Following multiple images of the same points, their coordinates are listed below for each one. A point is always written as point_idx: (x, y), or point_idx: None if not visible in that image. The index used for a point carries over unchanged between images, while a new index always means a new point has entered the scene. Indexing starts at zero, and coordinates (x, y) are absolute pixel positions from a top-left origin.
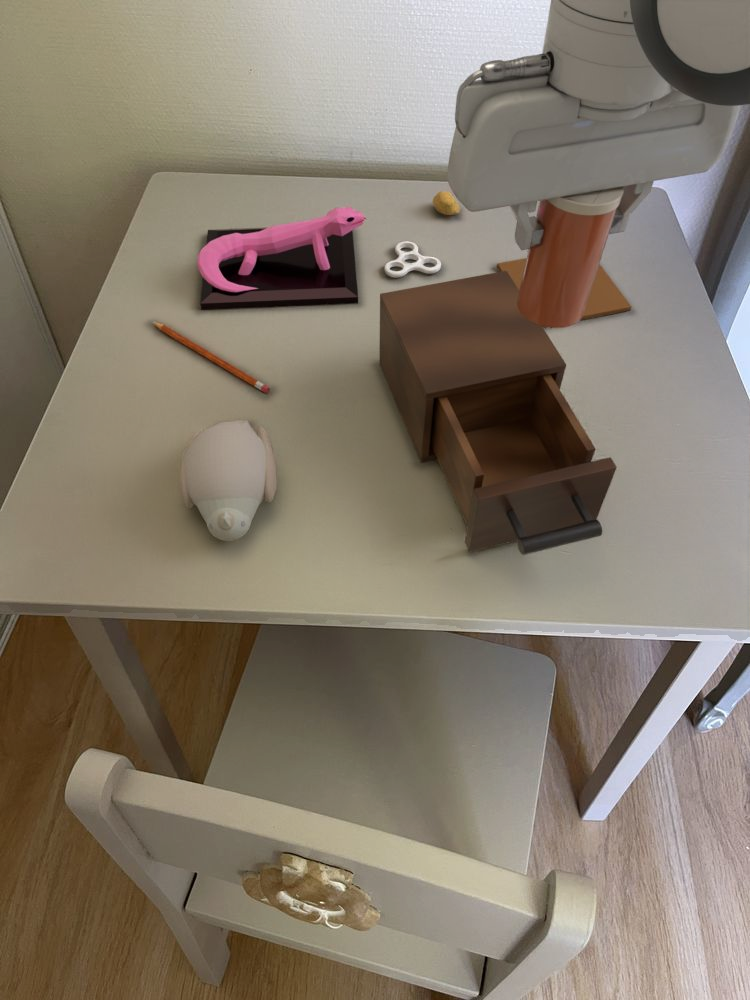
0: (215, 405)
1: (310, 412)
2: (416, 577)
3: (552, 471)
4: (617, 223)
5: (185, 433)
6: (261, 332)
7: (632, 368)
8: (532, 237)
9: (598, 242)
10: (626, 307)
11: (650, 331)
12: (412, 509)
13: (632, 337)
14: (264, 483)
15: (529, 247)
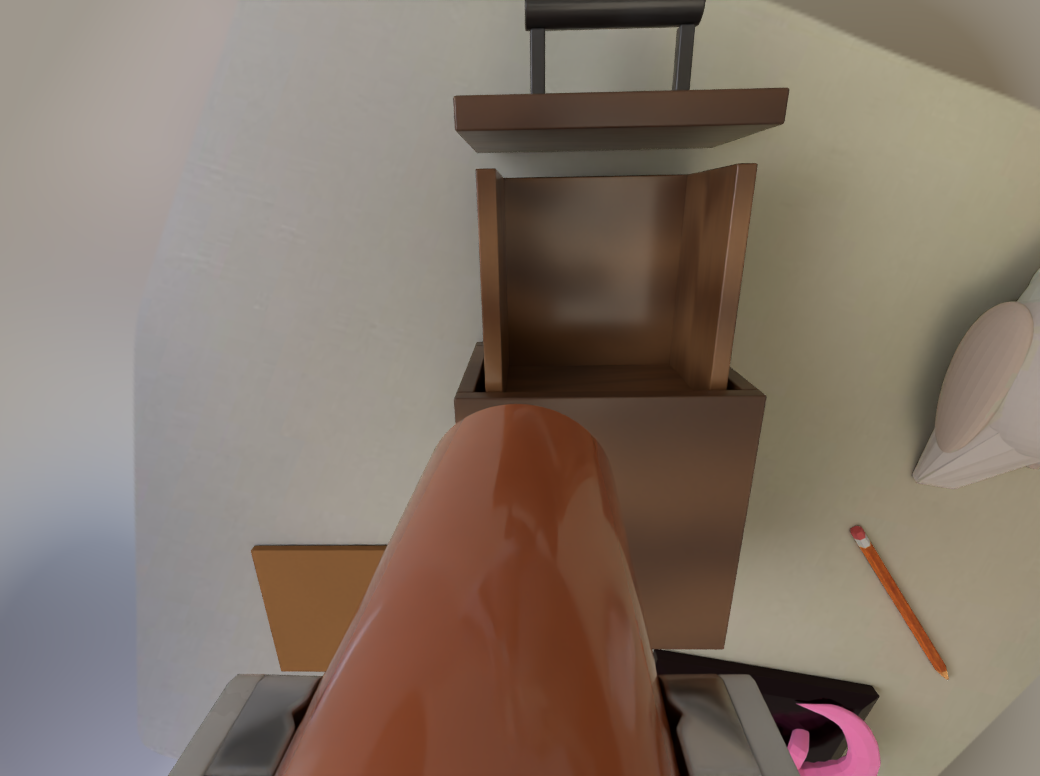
0: (936, 522)
1: (811, 476)
2: (806, 110)
3: (597, 124)
4: (256, 726)
5: (1002, 484)
6: (810, 630)
7: (291, 436)
8: (740, 736)
9: (412, 632)
10: (259, 550)
11: (236, 499)
12: (749, 252)
13: (269, 495)
14: (1035, 322)
15: (727, 682)
